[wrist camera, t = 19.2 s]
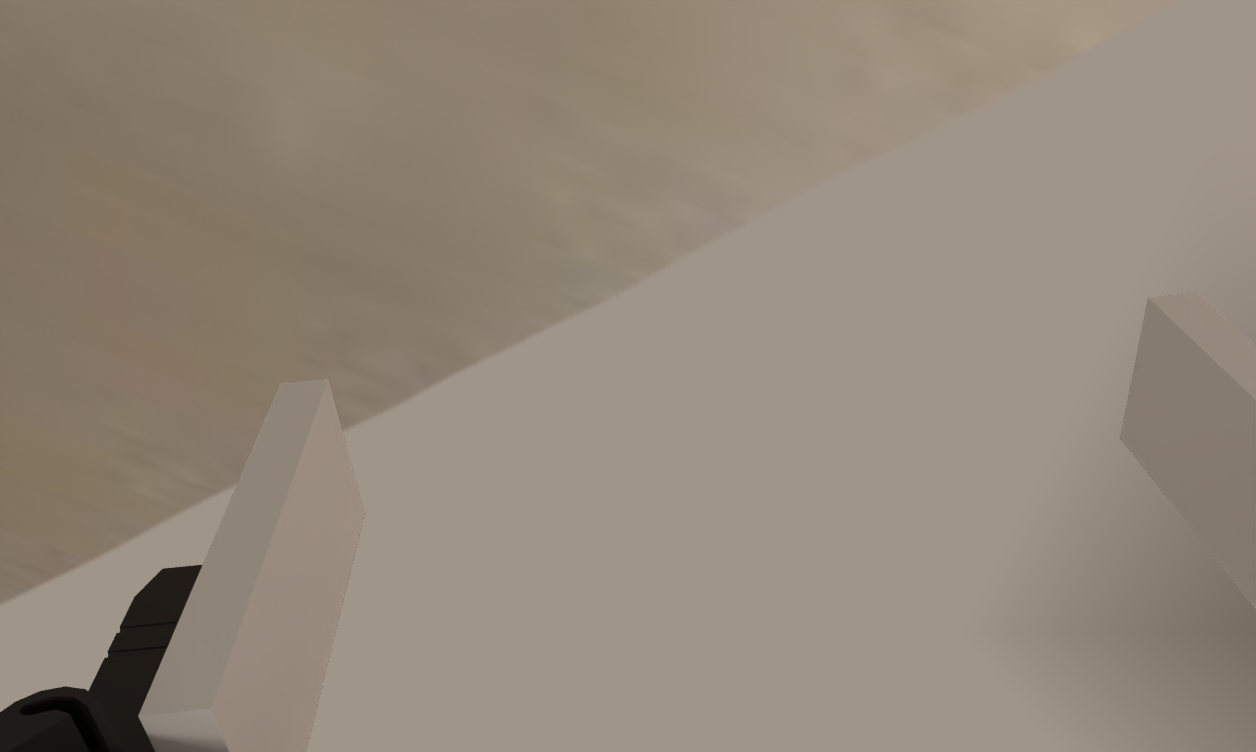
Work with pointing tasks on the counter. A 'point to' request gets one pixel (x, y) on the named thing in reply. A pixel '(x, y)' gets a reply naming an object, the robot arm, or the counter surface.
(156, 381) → the counter surface
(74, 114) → the counter surface
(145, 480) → the counter surface
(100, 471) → the counter surface
